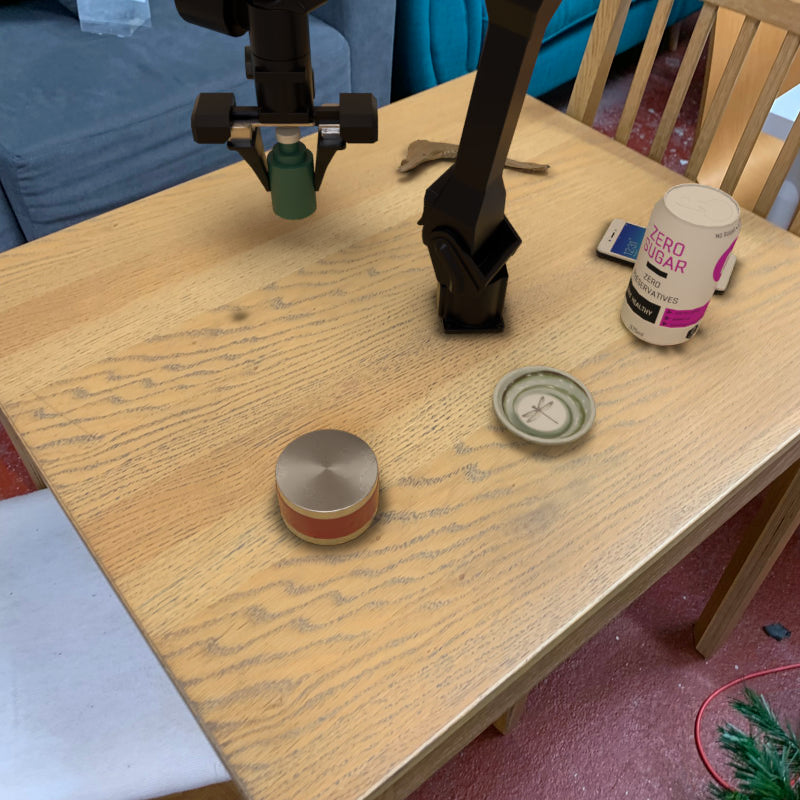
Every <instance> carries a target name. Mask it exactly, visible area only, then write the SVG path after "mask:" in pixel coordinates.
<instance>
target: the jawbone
mask: <svg viewBox="0 0 800 800" xmlns="http://www.w3.org/2000/svg"><path fill="white" fill-rule="evenodd" d="M458 147H459V144H454V143H447V142H440V141H430V140H427V139H417V140H414V141H412V142H411V143H409V145H408V146H407V157H406V158H403V159H402V160H401V162H400V166H398V168H397V170H396V173H402V172H403V173H407V172H408V171H409V170H412V169H414V168H415V167H417V166H419V165H420V164H422V163H425V162H430V161H435V160H439V159H454V158H455V159H456V156H457V152H458ZM504 167H510V168H516V169H525V170H527V171H533V172H547V171H548V170H549V169H550V168H551V166H550V164H540V163H536V162H530V161H528V162H527V161H526V162H525V161H518V160H513V159H511V158H508V157H507V159H506V162H505V165H504Z"/></svg>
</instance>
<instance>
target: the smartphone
mask: <svg viewBox="0 0 800 800" xmlns="http://www.w3.org/2000/svg"><path fill="white" fill-rule="evenodd" d="M646 228H647V226H644V225H641V224H638V223H635V222H631V221H628V220H625V219H622V218H614V219H613V220H612V221H611V223H610V224H609V226H608V228H607V230H606V231H605V233H604V234H603V237H602V238H601V240H600V242H599V243H598V245H597V247H596V250H595V252H596V254H597V256H599V257H601V258H605V259H607V260H610V261H614V262H617V263H620V264H623V265H626V266H629V267H632V268H634V266H635V262H636V259H637V256H638V253H639V250H640V247H641V244H642V241H643V238H644V235H645V232H646ZM736 262H737V256H736V254H735V253H732V252H731V254H730V257H729V259H728V261H727V263H726V266H725V268H724V270H723V273H722V275H721V277H720V279H719V282H718V284H717V286H716V289H715V291H714V293H713V294H716V295H722V294H723V293H725V291H726V289H727V287H728V284H729V281H730V278H731V276H732V273H733V270H734V268H735V265H736Z"/></svg>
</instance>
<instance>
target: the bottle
mask: <svg viewBox="0 0 800 800" xmlns="http://www.w3.org/2000/svg"><path fill="white" fill-rule="evenodd" d="M274 133H275V140H276V141H277V142H276V143H274V144H273V145H272V149H271V150H270V151H268V153H267V155H266V160H267V166H268V175H269V183H270V192H269V193H270V200H271V208H272V209H271V210H272V211H273V213H274V214H275V215H276V216H277V217H278V218H281V219H283V220H287V221H300V220H304V219H306V218H309V217H311V216H313V214H314V213H315V212H316V210H317V208H318V207H317V206H318V205H317V191H315V186H314V176H315V160H314V154H313V152H312V150H311V149H309V148H307V146H306V144H305V143H304V142H302V141H301V137H302V133H301V128H300V126H276V128H275V129H274Z"/></svg>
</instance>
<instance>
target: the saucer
mask: <svg viewBox="0 0 800 800" xmlns="http://www.w3.org/2000/svg"><path fill="white" fill-rule="evenodd" d="M491 399H492V400H491V401H492V408H493V411H494V413H495V416H496V418H497V419H498V420H499V422H500V423H501V424H502V426H504V428H506V430H507V431H509V432H510V433H511V434H513V435H515V436H516V437H518V438H519V439H522V440H524V441H527V442H530V443H532V444H533V443H534V444H537V445H543V446H561V445H562V446H563V445H565V444H569V443H573V442H575V441H578V440H580V439H581V438H582V437H584V436H585V435H587V433H588V432H589V431H590V430H591V428H592V427H593V425H594V423H595V420H596V416H597V405H596V402H595V398H594V396H593V394H592V393H591V391H590V390H589V389H588V387H587V386H586V385H585V384H584V383H583V382H582V381H581V380H579V378H578V377H576V376H574V375H572V374H570V373H569V372H566V371H564V370H563V369H559V368H555V367H552V366H548V365H527V366H522V367H521V366H520V367H518V368H515V369H512V370H510V371H508V372H507V373H506V374H504V375H503V376H502V377H501V378H500V379H499V380H498V381H497V383H496V384H495V386H494V389H493V392H492V398H491Z"/></svg>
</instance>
